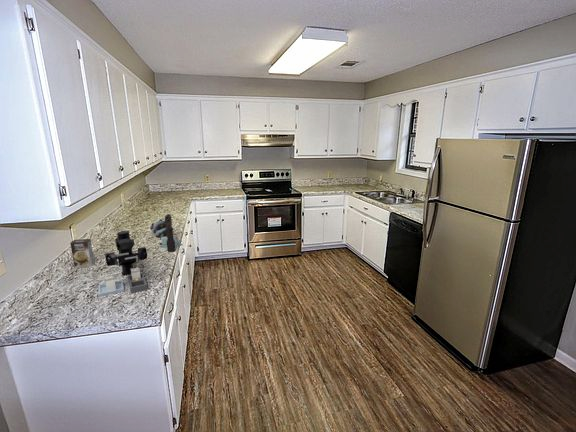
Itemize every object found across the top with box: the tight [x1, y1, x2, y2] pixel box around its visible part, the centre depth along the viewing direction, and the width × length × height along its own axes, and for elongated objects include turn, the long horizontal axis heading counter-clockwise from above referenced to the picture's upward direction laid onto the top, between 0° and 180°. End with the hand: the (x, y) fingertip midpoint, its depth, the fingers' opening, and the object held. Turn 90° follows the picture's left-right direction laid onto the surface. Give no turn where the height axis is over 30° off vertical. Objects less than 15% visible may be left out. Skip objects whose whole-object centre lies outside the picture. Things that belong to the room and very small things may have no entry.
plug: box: [104, 274, 116, 292], centre depth 155 cm, size 4×4×7 cm
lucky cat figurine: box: [149, 218, 174, 239], centre depth 243 cm, size 15×12×14 cm
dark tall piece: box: [158, 213, 184, 253], centre depth 217 cm, size 16×21×33 cm
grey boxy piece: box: [127, 266, 148, 294], centre depth 160 cm, size 16×8×8 cm, turn 31°
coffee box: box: [69, 238, 95, 269], centre depth 184 cm, size 9×6×16 cm
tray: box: [97, 279, 125, 298], centre depth 156 cm, size 11×11×2 cm
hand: (128, 261), depth 150 cm, fingers open, 9 cm apart
